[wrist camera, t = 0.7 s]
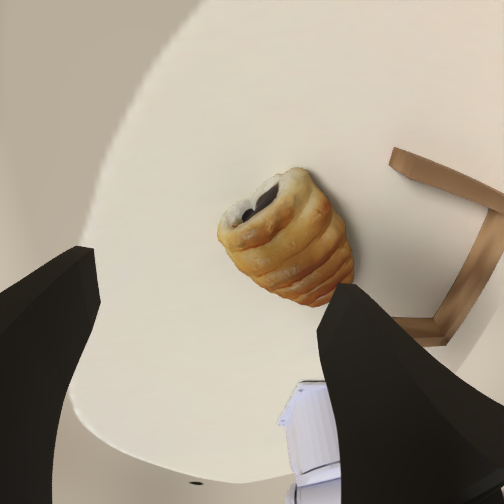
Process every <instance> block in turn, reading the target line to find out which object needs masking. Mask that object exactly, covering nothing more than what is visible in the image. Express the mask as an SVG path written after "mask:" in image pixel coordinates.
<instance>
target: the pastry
mask: <svg viewBox="0 0 504 504" xmlns="http://www.w3.org/2000/svg"><path fill="white" fill-rule="evenodd" d="M217 236H218V241H220V242H221V243H222V244H223V246H224V247H225V249H226V252H227V254H228V255H229V257H230V258H231V259H232V261H233V262H234V263H235V265H236V267H237V268H238V269H239V270H240V271H241V272H243V273H244V274H246V275H247V276H249V277H250V278H251V279H252V280H253V281H254V282H255V283H256V284H258V285H259V286H260V287H262V288H265V289H266V290H267V291H269V292H271V293H275V294H277V295H278V296H280V297H282V298H287V299H290V300H292V301H295V302H297V303H299V304H301V305H307V306H310V307H319V306H322V305H324V304H326V303H328V302H330V300H331V298H332V295H333V293H334V291H335V289H336V286H337V284H338V283H347V284H352V282H353V278H354V270H353V269H354V259H353V257H352V250H351V247H350V245H349V242H348V240H347V238H346V231H345V222H344V220H343V219H342V218H341V216H340V215H338V214H337V213H335V211H334V210H333V208H332V207H331V204H330V202H329V200H328V199H327V198H326V196H325V195H324V194H323V192H322V191H320V190H319V189H318V187H317V186H316V185H315V183H314V182H313V181H312V179H311V176H310V173H309V172H308V171H306V170H304V169H302V168H296V167H295V168H291V169H290V170H288V171H286V172H285V173H284V174H276V175H275V176H273V177H271V178H270V179H268V180H267V181H265V182H264V183H263V184H262V185H261V186H260V187H259V188H258V189H257V190H256V191H255V192H254V193H253V194H252V195H251V197H250V198H248V199H246V200H243V201H240V202H238V203H236V204H234V205H233V206H232V207H231V208H230V209H229V210H227V211H226V212H225V213H224V215H223V216H222V218H221V220H220V223H219V226H218V232H217Z"/></svg>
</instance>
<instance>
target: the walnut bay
mask: <svg viewBox="0 0 504 504" xmlns="http://www.w3.org/2000/svg"><path fill="white" fill-rule="evenodd" d="M389 165H390V166H391V167H393V168H394V169H396V170H397V171H399V172H400V173H402V174H403V175H405V176H406V177H408V178H410V179H413V180H416V181H419V182H422V183H425V184H428V185H431V186H434V187H437V188H439V189H442V190H445V191H448V192H450V193H453V194H456V195H458V196H461V197H464V198H466V199H469V200H471V201H474V202H476V203H479V204H481V205H483V206H486V207H488V208H490V209H489V211H488V214H487V216H486V219H485V221H484V223H483V226H482V228H481V230H480V232H479V235H478V237H477V239H476V241H475V243H474V245H473V247H472V249H471V252H470V254H469V256H468V258H467V260H466V262H465V264H464V265H463V267H462V269H461V271H460V273H459V275H458V277H457V279H456V280H455V282H454V284H453V286H452V288H451V289H450V291H449V293H448V294H447V296H446V298H445V300H444V301H443V303H442V305H441V306H440V308H439V309H438V311H437V313H436V314H435V316H434V317H433V318H394V317H391V318H392V319H394V320H395V321H396V322H397V323H398V324H399V325H400V326H401V327H402V328H403V329H404V330H405V331H406V332H407V333H408V334H409V335H410V336H411V337H412V338H413V339H414V340H415V341H416V342H417V343H419V344H420V345H421V346H422V347H432V346H446V345H447V343H448V342H449V341H450V339H451V338H452V336H453V335H454V334H455V332H456V331H457V329H458V328H459V326H460V325H461V324H462V322H463V321H464V319H465V318H466V316H467V315H468V313H469V311H470V310H471V308H472V307H473V305H474V304H475V302H476V300H477V299H478V297H479V295H480V294H481V292H482V290H483V289H484V287H485V285H486V284H487V282H488V280H489V278H490V276H491V275H492V273H493V271H494V269H495V267H496V265H497V263H498V261H499V259H500V258H501V256H502V254H503V252H504V194H503V193H501V192H499V191H497V190H495V189H493V188H491V187H489V186H487V185H485V184H483V183H481V182H479V181H477V180H475V179H473V178H471V177H469V176H466V175H464V174H462V173H460V172H457V171H455V170H453V169H450V168H448V167H446V166H443V165H441V164H439V163H436V162H434V161H431V160H429V159H426V158H423V157H421V156H418V155H415V154H413V153H410V152H407V151H405V150H402V149H399V148H396V147H394V149H393V152H392V156H391V159H390V162H389Z"/></svg>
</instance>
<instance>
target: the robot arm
mask: <svg viewBox="0 0 504 504" xmlns="http://www.w3.org/2000/svg"><path fill="white" fill-rule="evenodd" d="M100 303H101V301H100V295H99V288H98V281H97V273H96V265H95V256H94V249H93V248H87V247H81V246H75V247H73V248H71V249H69V250H67V251H65V252H63V253H62V254H60V255H59V256H57V257H55V258H54V259H52V260H50V261H49V262H47V263H46V264H44V265H43V266H41V267H40V268H38V269H37V270H35V271H34V272H32V273H30V274H29V275H28V276H26V277H24V278H23V279H21V280H20V281H18V282H17V283H15V284H13V285H12V286H10V287H9V288H7V289H6V290H4V291H3V292H1V293H0V504H52V470H53V458H54V449H55V441H56V435H57V429H58V424H59V419H60V414H61V410H62V406H63V401H64V398H65V395H66V392H67V389H68V386H69V384H70V381H71V379H72V376H73V374H74V371H75V369H76V367H77V364H78V362H79V359H80V357H81V355H82V352H83V350H84V348H85V345H86V343H87V341H88V338H89V336H90V334H91V332H92V329H93V326H94V322H95V319H96V316H97V313H98V310H99V306H100ZM317 340H318V349H319V356H320V362H321V366H322V370H323V374H324V378H325V382H301V383H299V384H298V386H297V387H296V389H295V391H294V393H293V395H292V397H291V398H290V400H289V402H288V404H287V405H286V407H285V409H284V411H283V412H282V414H281V416H280V417H279V419H278V421H277V425H279V426H285V430H286V438H287V446H288V454H289V462H290V467H291V469H292V471H293V473H294V474H295V475H296V483H295V484H292V485H291V486H290V488H289V490H288V491H287V493H286V497H285V504H504V489H503V490H501V487H503V486H504V406H503V405H501V404H499V403H497V402H496V401H494V400H492V399H491V398H489V397H487V396H486V395H484V394H482V393H481V392H479V391H478V390H476V389H475V388H473V387H472V386H470V385H469V384H467V383H466V382H464V381H463V380H462V379H460V378H459V377H458V376H456V375H455V374H454V373H453V372H451V371H450V370H449V369H448V368H446V367H445V366H444V365H443V364H441V363H440V362H439V361H438V360H436V359H435V358H434V357H433V356H432V355H431V354H430V353H428V352H427V351H426V350H425V349H424V348H423V347H422V346H421V345H420V344H419V343H417V342H416V341H415V340H414V339H413V338H412V337H411V336H410V335H409V334H408V333H407V332H406V331H405V330H404V329H403V328H402V327H401V326H400V325H399V324H398V323H397V322H396V321H395V320H394V319H392V318H391V317H390V316H389V315H388V314H387V313H386V312H385V311H384V310H383V309H382V308H381V307H380V306H379V305H378V304H377V303H376V302H375V301H374V300H373V299H372V298H371V297H370V296H369V295H368V294H366V293H365V292H364V291H363V290H362V289H361V288H359V287H358V286H357V285H355V284H347V283H338V284H337V286H336V289H335V291H334V293H333V295H332V298H331V300H330V302H329V304H328V307H327V309H326V311H325V313H324V315H323V318H322V320H321V322H320V324H319V326H318V328H317Z"/></svg>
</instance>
